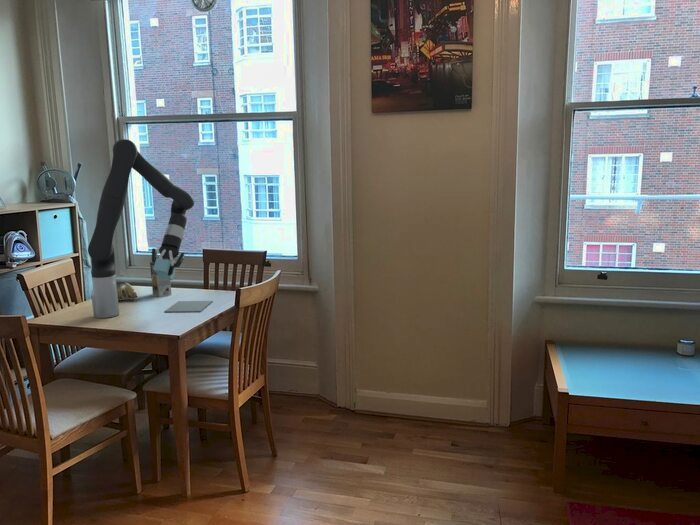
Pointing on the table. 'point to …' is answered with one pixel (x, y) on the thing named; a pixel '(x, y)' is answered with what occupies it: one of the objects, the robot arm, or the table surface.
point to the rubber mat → (189, 306)
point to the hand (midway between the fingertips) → (162, 274)
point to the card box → (163, 269)
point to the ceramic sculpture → (126, 292)
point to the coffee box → (159, 284)
